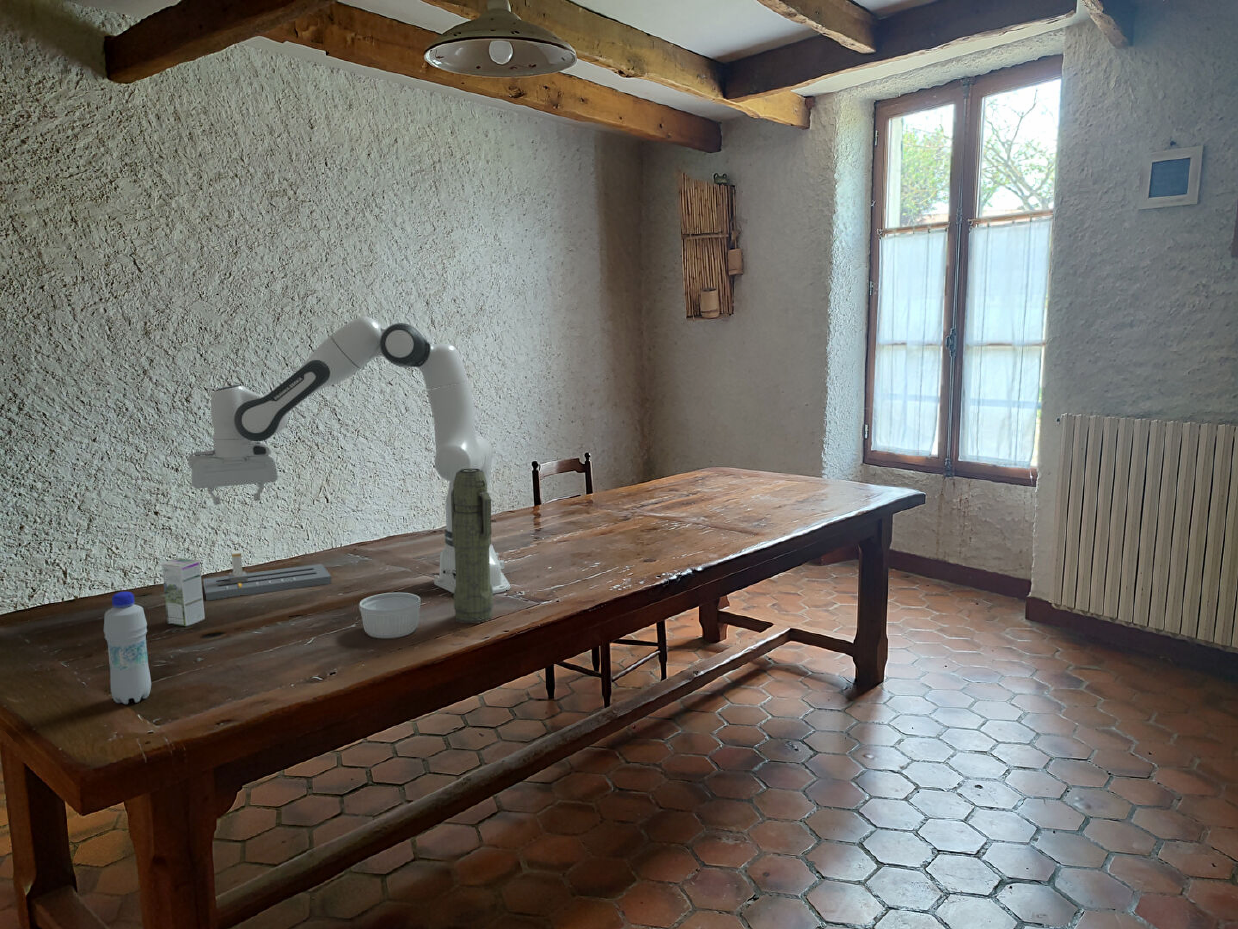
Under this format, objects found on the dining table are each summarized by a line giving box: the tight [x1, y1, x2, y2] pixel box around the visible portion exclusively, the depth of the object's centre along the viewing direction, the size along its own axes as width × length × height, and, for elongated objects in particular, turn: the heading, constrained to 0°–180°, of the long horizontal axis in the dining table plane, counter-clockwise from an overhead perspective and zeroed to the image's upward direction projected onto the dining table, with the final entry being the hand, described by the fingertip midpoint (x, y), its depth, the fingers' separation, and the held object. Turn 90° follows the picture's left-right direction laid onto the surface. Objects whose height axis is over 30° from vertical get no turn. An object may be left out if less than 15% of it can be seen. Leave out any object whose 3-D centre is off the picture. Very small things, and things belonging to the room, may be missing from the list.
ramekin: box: [358, 592, 422, 639], centre depth 185 cm, size 13×13×7 cm
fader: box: [228, 550, 247, 584], centre depth 215 cm, size 5×4×8 cm
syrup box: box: [161, 557, 206, 627], centre depth 190 cm, size 6×6×14 cm
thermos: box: [451, 468, 494, 624], centre depth 191 cm, size 9×12×35 cm
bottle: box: [103, 591, 152, 705], centre depth 148 cm, size 7×7×20 cm
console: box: [202, 563, 332, 601], centre depth 219 cm, size 14×30×2 cm, turn 119°
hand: (237, 502), depth 213 cm, fingers open, 8 cm apart
